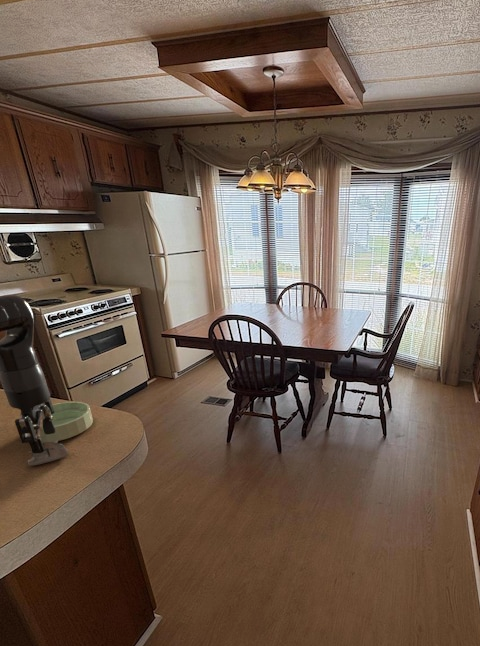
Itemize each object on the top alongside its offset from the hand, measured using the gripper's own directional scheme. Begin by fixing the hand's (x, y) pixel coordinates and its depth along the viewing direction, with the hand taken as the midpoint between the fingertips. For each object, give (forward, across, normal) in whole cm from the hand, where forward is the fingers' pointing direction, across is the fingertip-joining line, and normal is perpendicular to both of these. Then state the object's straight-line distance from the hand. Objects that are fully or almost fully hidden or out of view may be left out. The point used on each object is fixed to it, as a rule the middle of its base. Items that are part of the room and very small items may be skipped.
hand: (45, 442), depth 85 cm
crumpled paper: (+5, 0, 0) cm, 5 cm away
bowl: (+5, -15, -1) cm, 16 cm away
